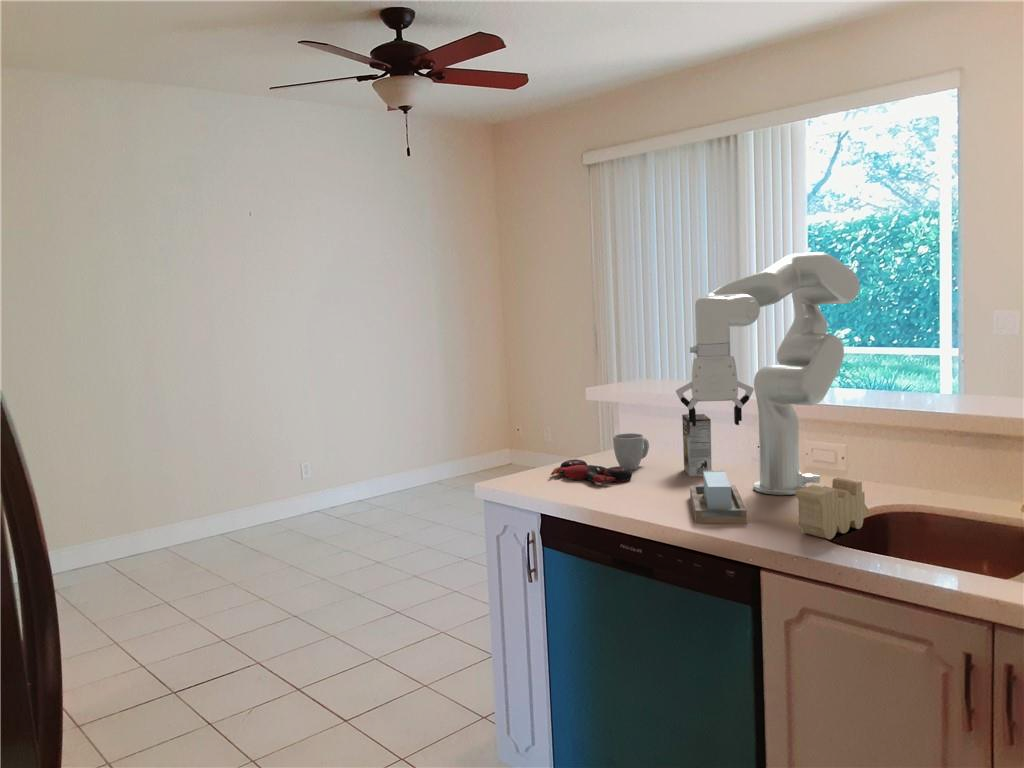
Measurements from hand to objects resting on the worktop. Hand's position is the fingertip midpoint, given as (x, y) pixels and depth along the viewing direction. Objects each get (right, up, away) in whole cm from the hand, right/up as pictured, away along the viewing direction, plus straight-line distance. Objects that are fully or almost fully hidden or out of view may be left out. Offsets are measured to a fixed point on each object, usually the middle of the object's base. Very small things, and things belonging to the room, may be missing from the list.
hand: (715, 424), depth 181 cm
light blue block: (+1, -19, +2) cm, 19 cm away
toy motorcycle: (-26, -18, +41) cm, 51 cm away
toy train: (+20, -22, -18) cm, 34 cm away
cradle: (+1, -20, +2) cm, 20 cm away
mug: (-11, -15, +51) cm, 54 cm away
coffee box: (+5, -16, +40) cm, 43 cm away
